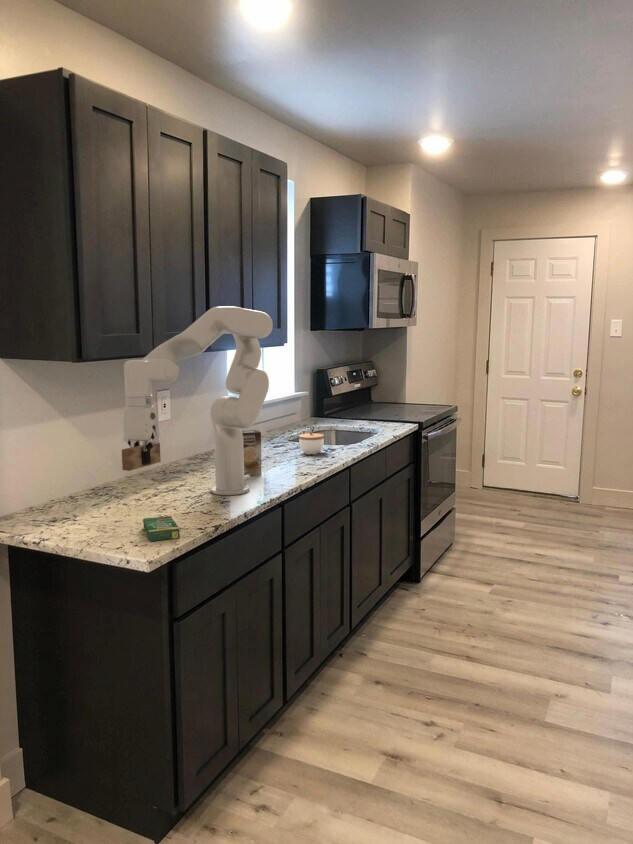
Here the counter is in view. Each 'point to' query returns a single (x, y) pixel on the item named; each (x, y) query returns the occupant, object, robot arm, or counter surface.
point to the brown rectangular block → (138, 457)
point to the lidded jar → (311, 442)
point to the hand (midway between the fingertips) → (142, 462)
